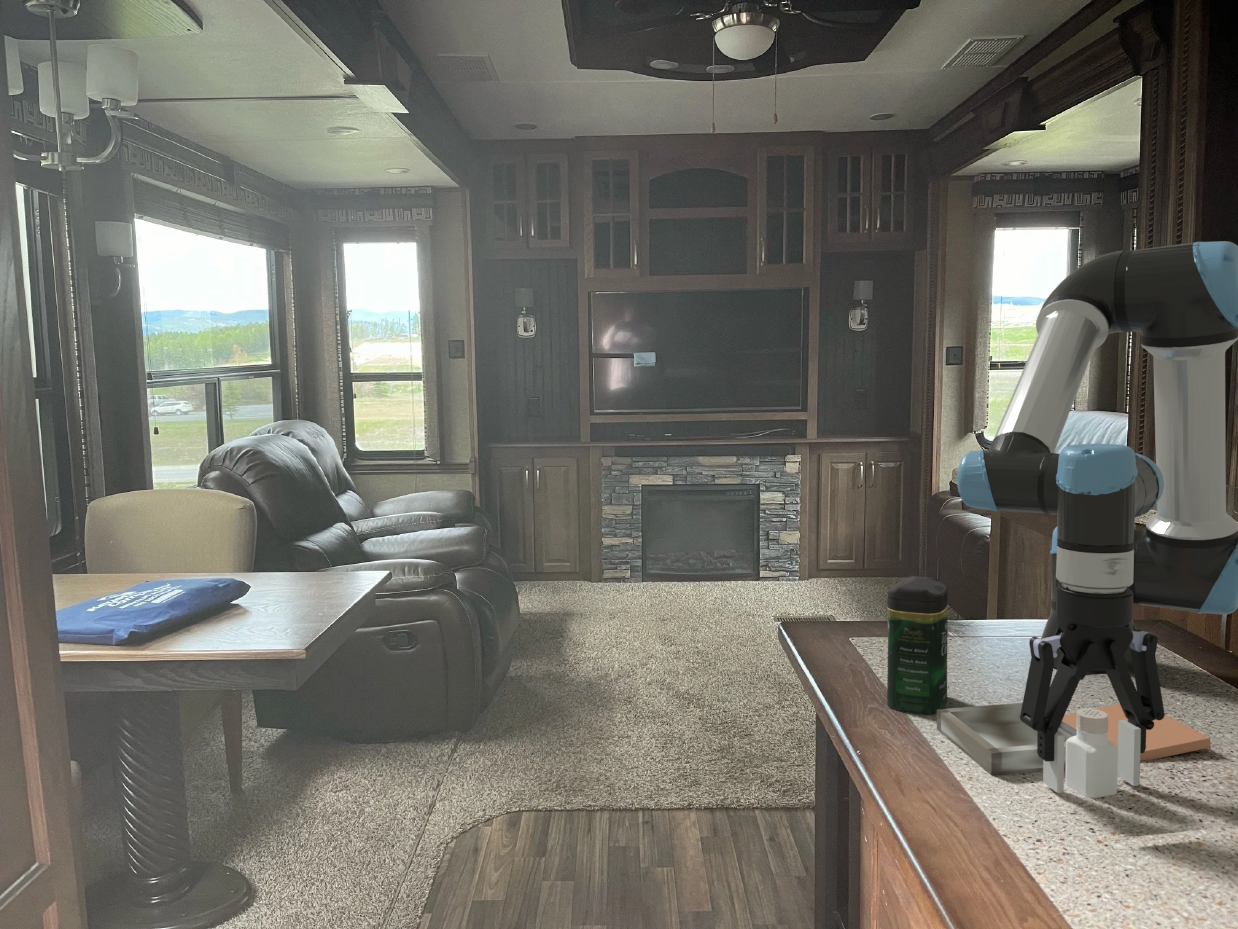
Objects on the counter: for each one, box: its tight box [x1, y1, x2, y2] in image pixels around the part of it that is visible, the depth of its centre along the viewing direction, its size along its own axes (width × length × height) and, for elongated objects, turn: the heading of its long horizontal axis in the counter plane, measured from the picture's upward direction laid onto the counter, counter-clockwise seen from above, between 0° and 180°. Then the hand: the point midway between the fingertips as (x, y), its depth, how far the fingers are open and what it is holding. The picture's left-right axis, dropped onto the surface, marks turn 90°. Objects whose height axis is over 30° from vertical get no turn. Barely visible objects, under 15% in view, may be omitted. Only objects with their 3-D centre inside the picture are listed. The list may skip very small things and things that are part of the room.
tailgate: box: [1059, 703, 1212, 761], centre depth 115 cm, size 1×13×13 cm
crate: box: [936, 702, 1073, 776], centre depth 113 cm, size 15×14×4 cm
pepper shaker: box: [1064, 707, 1118, 799], centre depth 101 cm, size 4×4×10 cm
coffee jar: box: [886, 575, 949, 716], centre depth 129 cm, size 10×8×19 cm
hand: (1090, 783), depth 102 cm, fingers open, 8 cm apart
